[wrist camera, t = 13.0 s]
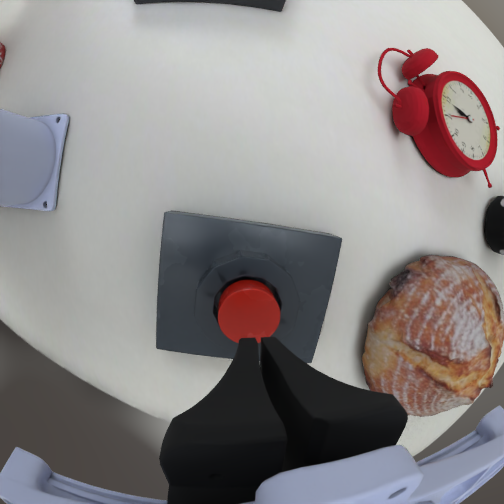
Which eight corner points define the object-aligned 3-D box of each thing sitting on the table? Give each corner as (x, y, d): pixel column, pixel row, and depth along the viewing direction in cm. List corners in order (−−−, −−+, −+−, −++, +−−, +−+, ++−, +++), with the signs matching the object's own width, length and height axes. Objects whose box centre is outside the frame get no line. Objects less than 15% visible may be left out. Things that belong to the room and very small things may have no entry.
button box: (161, 335, 21) (150, 361, 17) (170, 210, 19) (157, 214, 15) (304, 349, 22) (318, 376, 18) (331, 233, 20) (353, 242, 17)
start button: (215, 328, 17) (214, 341, 16) (222, 275, 17) (221, 284, 15) (270, 333, 18) (274, 347, 16) (280, 282, 17) (286, 292, 15)
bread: (428, 394, 27) (464, 441, 18) (316, 369, 24) (351, 450, 14) (495, 290, 24) (547, 322, 14) (409, 214, 21) (496, 241, 11)
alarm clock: (494, 204, 18) (415, 99, 12) (447, 193, 23) (353, 110, 18) (505, 118, 16) (429, 8, 10) (463, 117, 22) (380, 27, 16)
